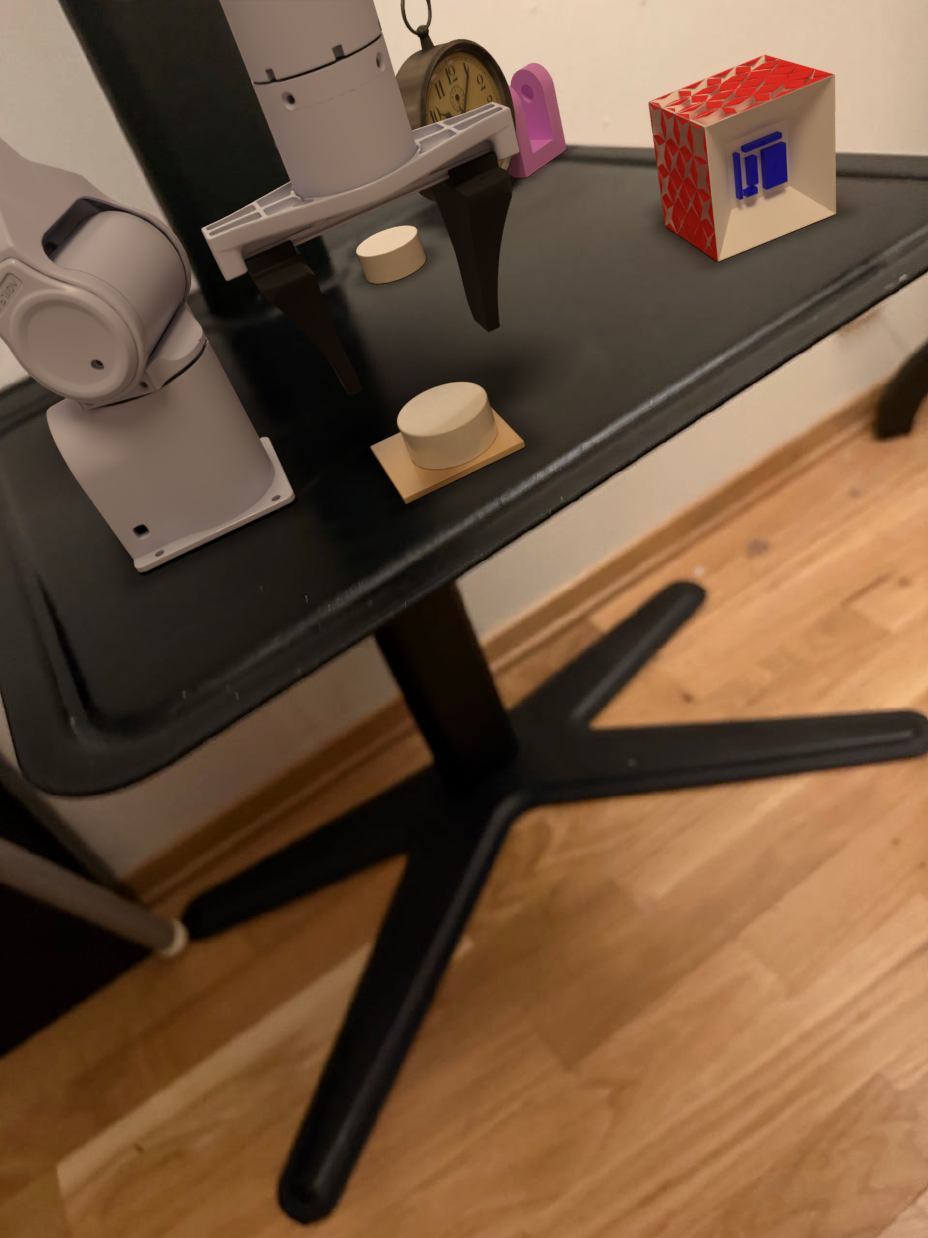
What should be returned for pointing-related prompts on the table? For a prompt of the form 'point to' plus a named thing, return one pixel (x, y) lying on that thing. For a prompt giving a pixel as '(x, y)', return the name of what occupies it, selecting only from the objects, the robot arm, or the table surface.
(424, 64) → the alarm clock
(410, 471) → the placemat
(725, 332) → the table surface
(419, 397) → the short cream cylinder
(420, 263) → the beige round disc
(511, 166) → the bracket
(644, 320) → the table surface
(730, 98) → the puzzle cube
